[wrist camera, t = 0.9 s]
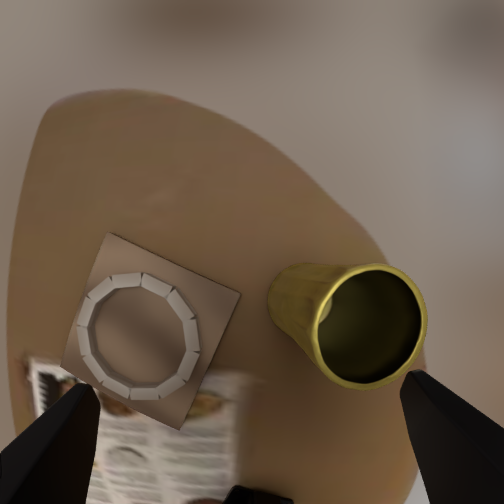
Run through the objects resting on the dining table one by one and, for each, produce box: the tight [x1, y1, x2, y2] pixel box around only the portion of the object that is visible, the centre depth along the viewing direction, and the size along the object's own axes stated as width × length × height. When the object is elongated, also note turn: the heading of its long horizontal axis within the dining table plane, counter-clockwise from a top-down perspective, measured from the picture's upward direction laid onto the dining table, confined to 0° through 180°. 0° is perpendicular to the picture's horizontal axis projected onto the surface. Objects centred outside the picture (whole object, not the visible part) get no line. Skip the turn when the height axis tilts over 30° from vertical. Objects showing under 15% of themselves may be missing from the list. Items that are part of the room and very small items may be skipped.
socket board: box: [60, 232, 241, 431], centre depth 24 cm, size 13×12×2 cm
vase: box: [268, 263, 428, 391], centre depth 19 cm, size 6×6×14 cm
